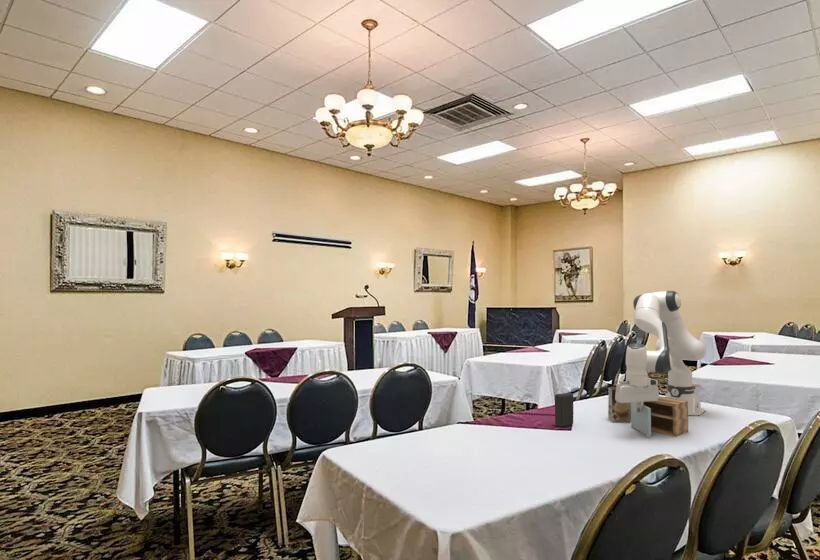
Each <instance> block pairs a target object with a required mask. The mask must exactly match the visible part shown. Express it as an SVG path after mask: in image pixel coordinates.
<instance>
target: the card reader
mask: <svg viewBox="0 0 820 560" xmlns="http://www.w3.org/2000/svg"><path fill="white" fill-rule="evenodd" d="M554 424H555V426H556V427H559V428H563V426H564V427H569V426H572V425H573V424H574V394H573V393H570V392H564V393H563V392H562V393H556V394H555V395H554Z"/></svg>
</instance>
